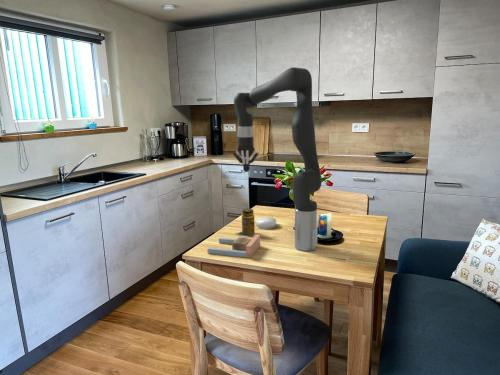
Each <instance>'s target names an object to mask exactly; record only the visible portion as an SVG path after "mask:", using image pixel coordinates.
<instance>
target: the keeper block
mask: <svg viewBox="0 0 500 375" xmlns="http://www.w3.org/2000/svg"><path fill="white" fill-rule="evenodd" d="M235 239H236V240H235V241H234V242H232V244H231V245H232V246H231V247H232V248H231V250H238V251H246V245H247V244H248V243H249V242H250V241H251V239H252V238H248V237H244V238H243V237H241V236H238V237H237V238H235Z"/></svg>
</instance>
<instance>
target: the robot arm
mask: <svg viewBox="0 0 500 375" xmlns="http://www.w3.org/2000/svg"><path fill="white" fill-rule="evenodd" d="M288 91H290V92H295V94H296V108H295V112H294V115H293V117H292V120H291V134H292V141H293V144H294V146H295V148H296V149H297V150H298V152H299V153H300V156H301V157H302V160H303V164H304V171H300V172H296V173H295V174H294V176H293V178H292V200H293V204H294V248H295V249H296V250H297V251H302V252H309V251H316V249H317V247H318V223H317V222H318V221H317V219H318V203H317V202H316V201H314V200H313V199H311V197H310V194H312V193H316V192H318V191H320V189H321V187H322V175H321V169H320V166H319V159H318V152H317V146H316V145H317V144H316V143H317V142H316V130H315V124H314V123H315V122H314V111H313V78H312V75H311V72H310V70H308V69H307V68H303V67H302V68H301V67H294V66H293V67H289V68H287V69H286V70H284V71H283V72H282V73H280V74H279V75H277V76H276V77H274V78H273V79H271V80H269V81H267V82H265V83H263V84H261V85H258V86H255V87H253V88H252V89H251V90H250V92H237V93H236V94H235V96H234V98H233V106H234V108H235V109H234V110H235V112H236V116H237V148H236V149H237V150H236V151H235V152H233V153H232V154H233V156H234V158H235V159H236V160H237V161H238V163H240V164H242V165H243V166H242V168H243V171H244V173H249V171H250V168H251V166H250V164H252V163H254V162H255V161H256V159H257V158H258V157H259V155H260V152H257V151H256V149H255V147H254V146H255V144H254V143H255V142H254V140H255V139H254V121H253V117H254V116H253V114H252V113H249V112H247V111H248V110H247V109H252V108H254V107H256V106H258V105H260V104H261V103H263V102H265V101H268V100H270V99H272V98H273V97H274V96H276V94H279V93H281V92H288Z"/></svg>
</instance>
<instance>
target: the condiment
mask: <svg viewBox="0 0 500 375" xmlns="http://www.w3.org/2000/svg"><path fill="white" fill-rule="evenodd" d="M241 214H242V215H241V231H240V232H235V234H236V235H238V237H241V238H248V237H254V236H255V235H258V233H257V232H256V230H255V225H256V224H255V215H254V214H255V213H254V209H252V208H244V209H242V213H241Z"/></svg>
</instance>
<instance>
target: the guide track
mask: <svg viewBox="0 0 500 375" xmlns="http://www.w3.org/2000/svg"><path fill="white" fill-rule="evenodd" d="M236 239H237V238H226V237H219V238H218V244H227V245H232V242H234V241H235V240H236ZM250 239H251V241H250V242H249V243H248V244H247V245H246V251H238V250H232V249H229V248H228V249H227V248H217V247H208V248H207V254H211V255H219V256H229V257H240V258H249V259H251V258H252V257H253V256H254V255H255V254H256V251H258V249H259V248H260V247H261V235H260V234H257V235H253V236H252V238H250Z"/></svg>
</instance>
